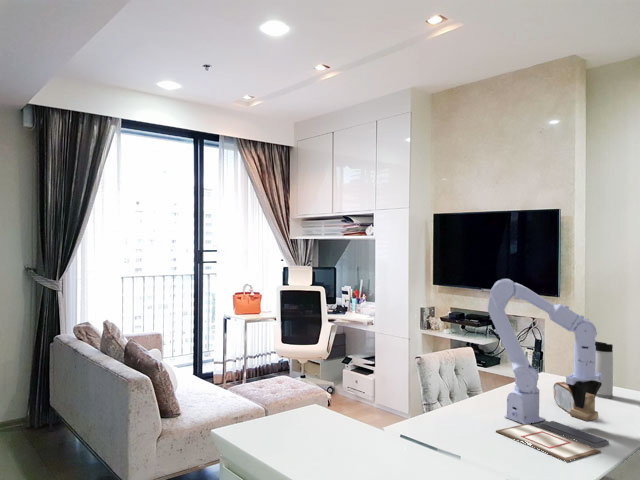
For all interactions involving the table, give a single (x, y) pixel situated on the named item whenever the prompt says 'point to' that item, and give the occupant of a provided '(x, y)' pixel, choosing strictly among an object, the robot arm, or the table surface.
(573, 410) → the stamp
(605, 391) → the travel mug
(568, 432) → the ink pad
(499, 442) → the table surface
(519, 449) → the table surface
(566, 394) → the tin
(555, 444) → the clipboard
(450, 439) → the table surface
